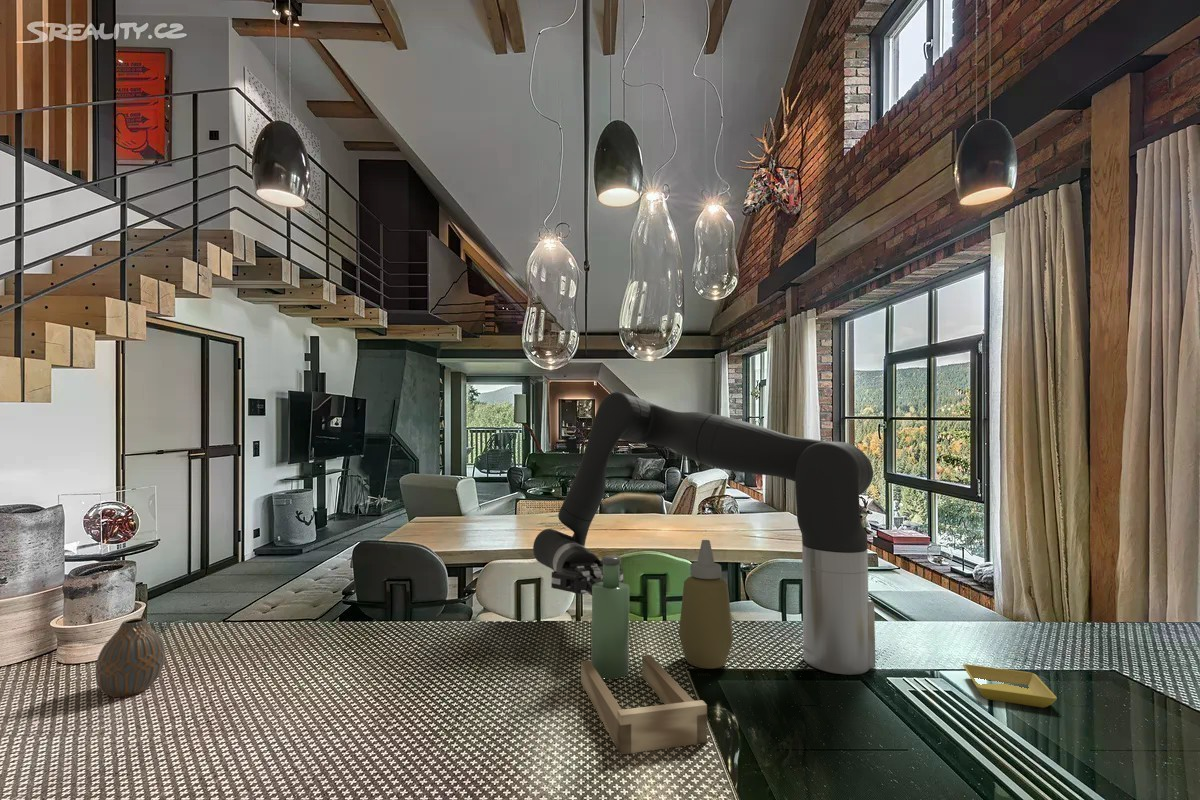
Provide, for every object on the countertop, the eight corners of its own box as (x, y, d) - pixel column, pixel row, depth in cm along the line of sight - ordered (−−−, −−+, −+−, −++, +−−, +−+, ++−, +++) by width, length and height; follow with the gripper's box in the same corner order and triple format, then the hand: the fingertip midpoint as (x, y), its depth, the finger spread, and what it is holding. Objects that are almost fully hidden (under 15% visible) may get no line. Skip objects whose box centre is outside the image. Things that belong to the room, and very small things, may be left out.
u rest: (650, 676, 79) (650, 647, 80) (706, 742, 62) (707, 704, 62) (580, 684, 77) (581, 653, 77) (620, 754, 60) (620, 715, 60)
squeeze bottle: (734, 675, 80) (733, 546, 81) (676, 670, 82) (677, 543, 83) (732, 654, 88) (732, 537, 89) (680, 650, 90) (680, 534, 91)
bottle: (622, 662, 84) (623, 552, 85) (633, 677, 79) (635, 560, 80) (586, 666, 83) (588, 554, 84) (596, 681, 77) (598, 562, 79)
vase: (175, 683, 75) (180, 616, 76) (116, 706, 69) (121, 632, 69) (140, 675, 77) (144, 610, 78) (80, 697, 71) (85, 625, 71)
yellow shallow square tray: (977, 703, 73) (977, 686, 74) (962, 677, 81) (962, 662, 82) (1059, 716, 70) (1058, 698, 70) (1035, 688, 78) (1034, 672, 78)
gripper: (540, 547, 101) (559, 568, 85) (611, 544, 105) (643, 564, 88) (539, 590, 101) (558, 620, 84) (610, 585, 104) (642, 613, 88)
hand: (602, 591), depth 86 cm, fingers closed
